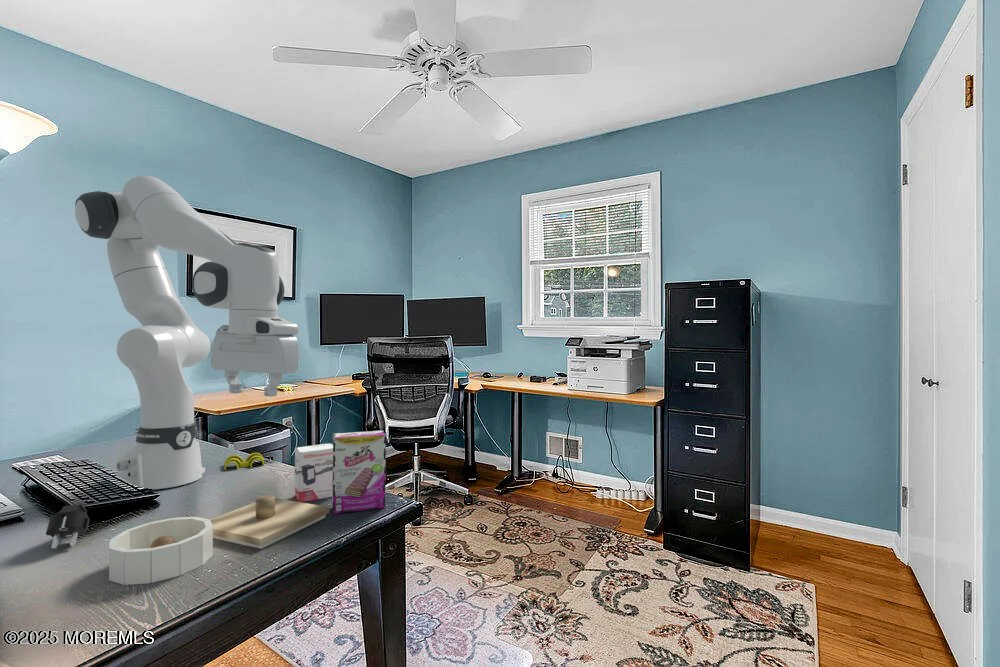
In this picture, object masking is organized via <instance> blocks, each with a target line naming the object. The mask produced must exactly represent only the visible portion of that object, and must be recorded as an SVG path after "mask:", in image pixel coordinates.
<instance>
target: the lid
mask: <svg viewBox="0 0 1000 667" xmlns="http://www.w3.org/2000/svg"><path fill="white" fill-rule="evenodd" d="M329 513H330V507H329V506H325V505H318V504H312V503H309V502H298V501H297V500H296V501H294V500H289V499H282V498H277V497H276V496H275V495H273V494H269V495H268V494H266V495H261V496H258V497H256V498H255V502H252V503H250V504H247V505H244V506H241V507H240V508H236V509H234V510H231V511H229V512H226V513H222V514H221V515H219V516H216V517H212V518H209V519H210V521H211V523H212V525H213V535H214V536H219V537H223V538H228V539H232V540H237V541H241V542H246V543H251V544H255V545H260V546H262V545H264V544H266V543H268V542H270V541H272V540H274V539H276V538H278V537H281V536H283V535H285V534H287V533H289V532H291V531H293V530H295V529H297V528H299V527H301V526H303V525H305V524H307V523H309V522H311V521H313V520H316V519H318V518H320V517H322V516H324V515H326V516H327V515H328V514H329Z"/></svg>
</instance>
